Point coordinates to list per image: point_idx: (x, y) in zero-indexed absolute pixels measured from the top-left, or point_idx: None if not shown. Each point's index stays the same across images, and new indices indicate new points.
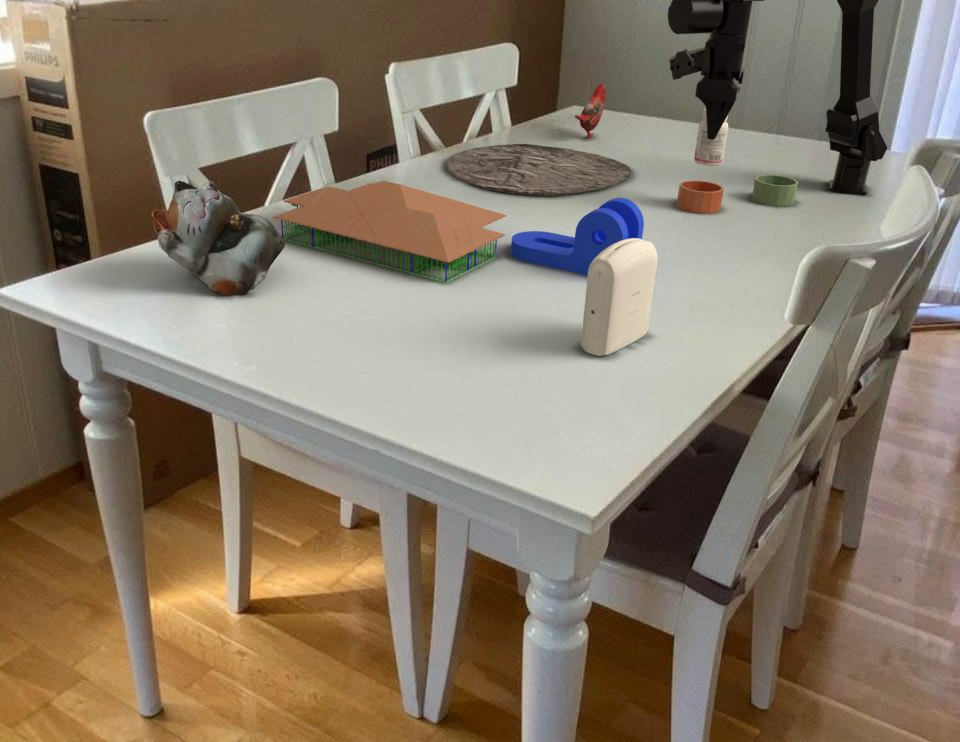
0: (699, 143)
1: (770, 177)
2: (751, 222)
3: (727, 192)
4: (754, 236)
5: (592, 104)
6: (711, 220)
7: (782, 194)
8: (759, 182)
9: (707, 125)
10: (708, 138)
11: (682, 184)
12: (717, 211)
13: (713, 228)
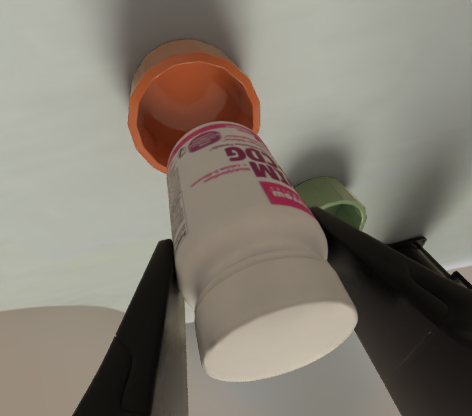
0: (183, 182)
1: (359, 213)
2: (151, 219)
3: (343, 129)
4: (63, 247)
5: None
6: (100, 159)
7: None
8: None
9: (134, 298)
10: (159, 244)
11: (184, 63)
12: None
13: (39, 180)
